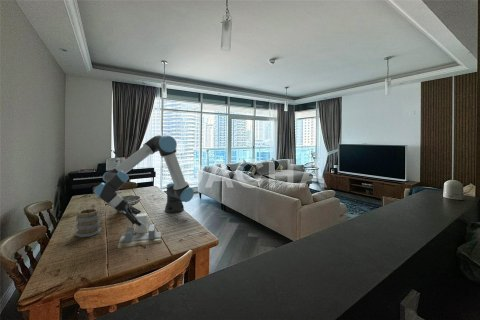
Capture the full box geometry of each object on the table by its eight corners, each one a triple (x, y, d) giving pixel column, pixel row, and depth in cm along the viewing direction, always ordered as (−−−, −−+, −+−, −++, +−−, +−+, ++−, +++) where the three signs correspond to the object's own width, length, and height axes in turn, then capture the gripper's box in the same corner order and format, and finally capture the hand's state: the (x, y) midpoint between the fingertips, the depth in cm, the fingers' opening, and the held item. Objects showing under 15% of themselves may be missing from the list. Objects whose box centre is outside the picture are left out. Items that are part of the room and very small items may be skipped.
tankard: (97, 235, 134) (96, 212, 133) (72, 238, 131) (71, 213, 129) (106, 223, 153) (105, 202, 152) (85, 225, 150) (84, 204, 148)
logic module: (147, 229, 145) (147, 213, 144) (146, 232, 140) (146, 215, 139) (137, 230, 143) (136, 214, 142) (136, 233, 138) (136, 216, 137)
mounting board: (161, 233, 139) (160, 230, 138) (160, 242, 127) (160, 238, 127) (121, 238, 131) (121, 235, 131) (118, 247, 120) (117, 244, 120)
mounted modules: (154, 231, 136) (154, 224, 136) (154, 238, 127) (154, 230, 126) (128, 235, 131) (127, 226, 131) (125, 242, 122) (125, 233, 121)
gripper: (117, 202, 147) (142, 221, 153) (109, 214, 123) (139, 236, 130) (126, 193, 148) (151, 213, 154) (119, 204, 124) (149, 226, 131)
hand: (145, 223), depth 142 cm, fingers open, 13 cm apart
